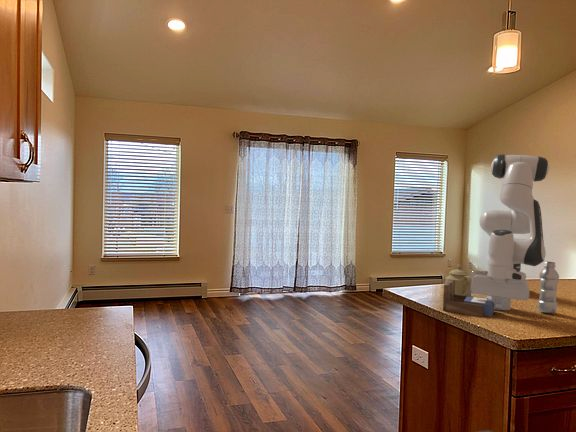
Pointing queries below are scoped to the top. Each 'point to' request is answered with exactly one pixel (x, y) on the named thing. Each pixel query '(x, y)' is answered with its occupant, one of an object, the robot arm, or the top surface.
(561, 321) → the top surface
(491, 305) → the navy carton
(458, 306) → the stand
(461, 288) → the sugar bowl
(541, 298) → the plastic bottle
